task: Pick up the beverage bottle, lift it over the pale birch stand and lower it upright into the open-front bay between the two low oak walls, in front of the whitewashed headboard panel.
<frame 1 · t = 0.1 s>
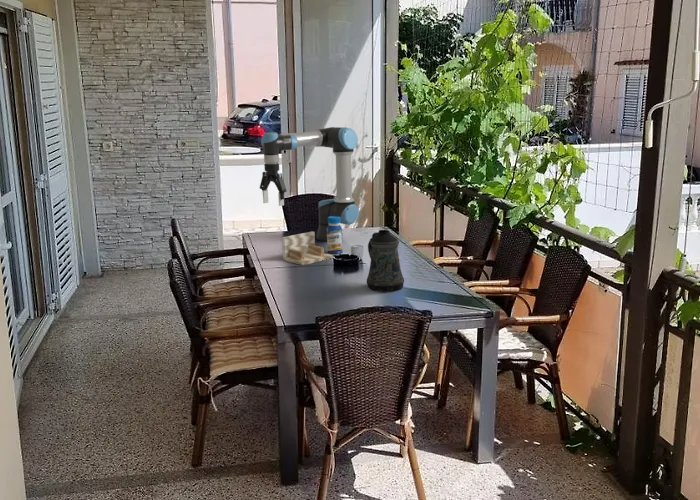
hand: (273, 204, 355), 28 cm above the table, tool pointing down, fingers open, 13 cm apart
beverage bottle: (335, 254, 364), on the table
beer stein: (382, 287, 302), on the table
headboard stand: (307, 259, 355), on the table
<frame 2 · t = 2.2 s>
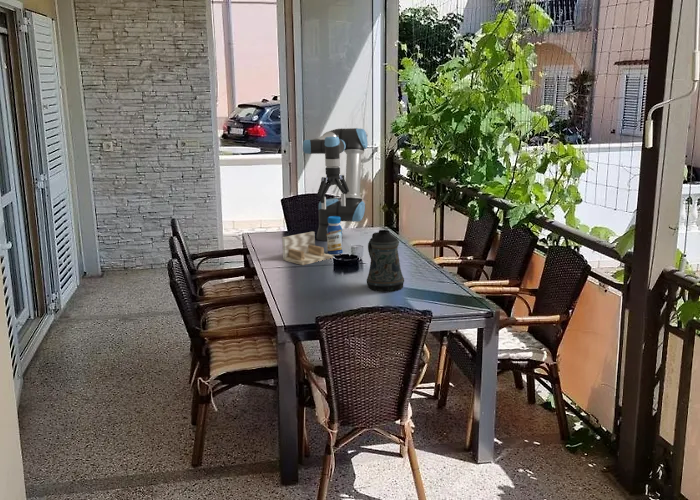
hand: (333, 207, 359), 25 cm above the table, tool pointing down, fingers open, 13 cm apart
nothing on the table moved.
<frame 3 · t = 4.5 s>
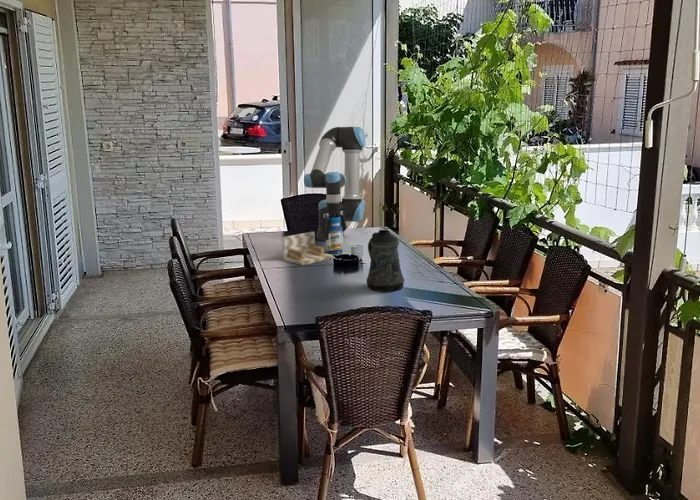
hand: (334, 244, 363), 5 cm above the table, tool pointing down, fingers closed on beverage bottle, 8 cm apart
beverage bottle: (335, 254, 364), on the table, touching gripper
everything else where it was.
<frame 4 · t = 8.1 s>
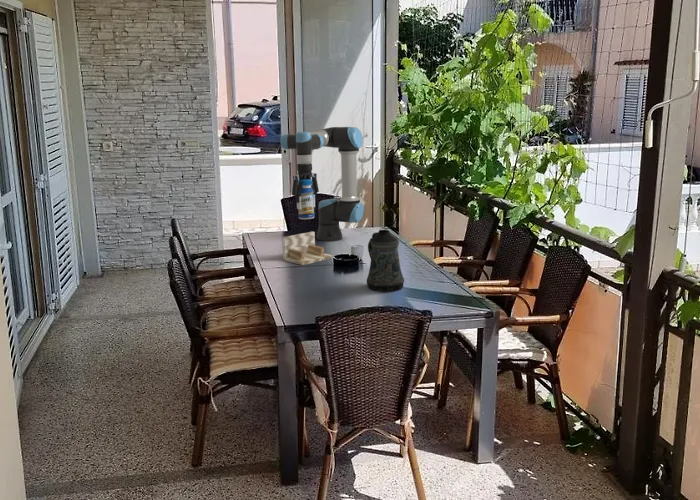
hand: (306, 207, 349), 27 cm above the table, tool pointing down, fingers closed on beverage bottle, 8 cm apart
beverage bottle: (306, 218, 350), point 21 cm above the table, touching gripper
everything else where it was.
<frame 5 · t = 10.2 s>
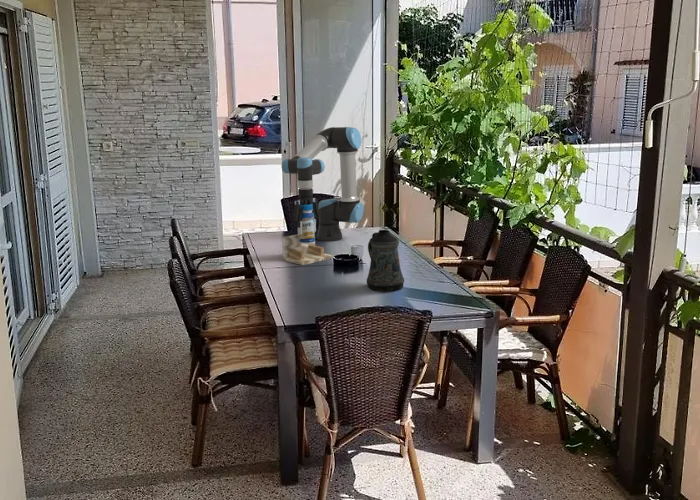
hand: (306, 232, 351), 14 cm above the table, tool pointing down, fingers closed on beverage bottle, 8 cm apart
beverage bottle: (307, 242, 353), point 9 cm above the table, touching gripper
everything else where it was.
when the fingers open (9 cm above the table, at t = 11.8 s): beverage bottle drops 2 cm, resting on headboard stand.
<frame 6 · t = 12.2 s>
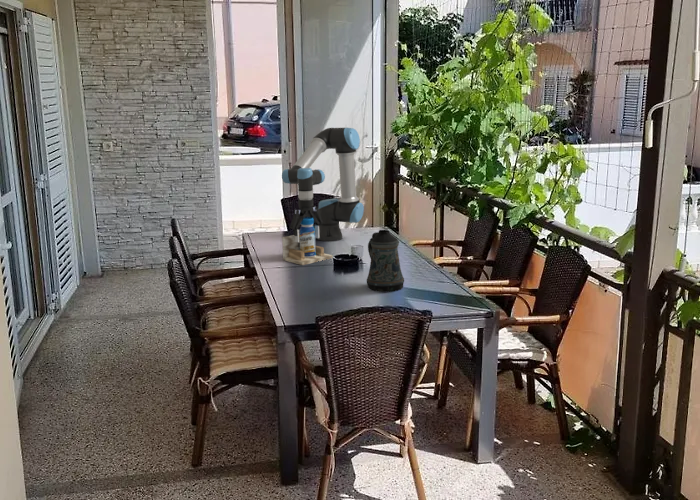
hand: (307, 239, 352), 10 cm above the table, tool pointing down, fingers open, 13 cm apart
beverage bottle: (308, 256, 354), point 1 cm above the table, touching headboard stand
everything else where it was.
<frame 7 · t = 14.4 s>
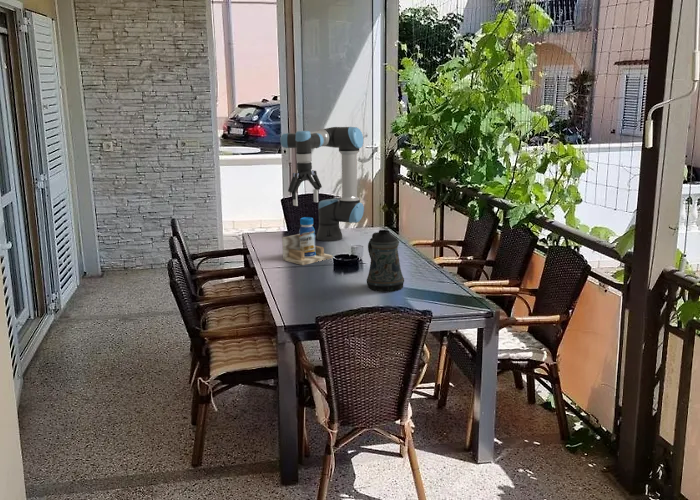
hand: (305, 203, 349), 29 cm above the table, tool pointing down, fingers open, 13 cm apart
nothing on the table moved.
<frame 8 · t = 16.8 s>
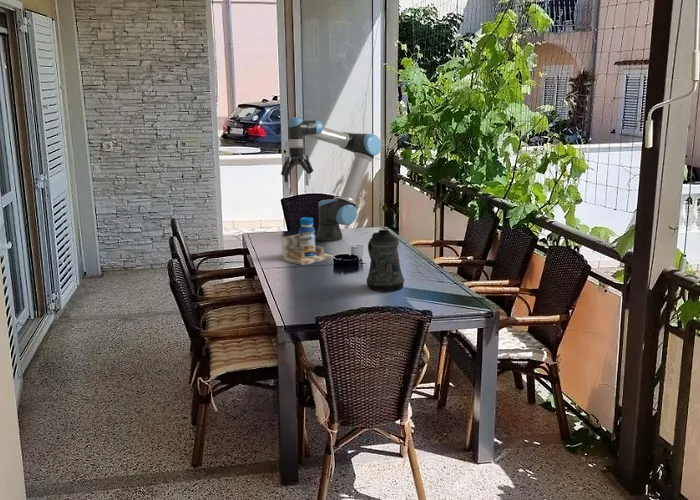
hand: (297, 186, 368), 35 cm above the table, tool pointing down, fingers open, 13 cm apart
nothing on the table moved.
at the end: beverage bottle 0.2 cm off-centre on the headboard stand, point 1.3 cm above the headboard stand's base; beverage bottle tilted 0°; the gripper is holding nothing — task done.
